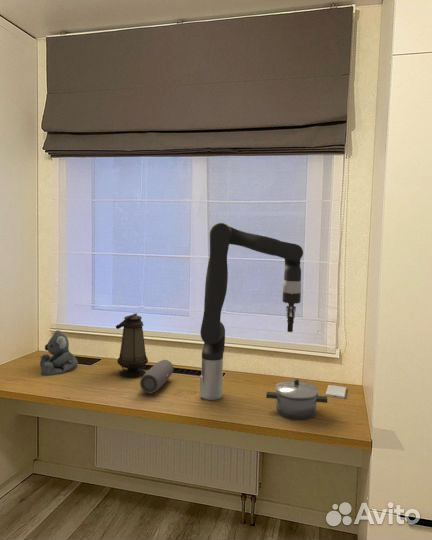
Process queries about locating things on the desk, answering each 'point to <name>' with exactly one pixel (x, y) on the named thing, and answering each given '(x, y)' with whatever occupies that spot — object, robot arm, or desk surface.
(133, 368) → the lantern
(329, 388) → the hard drive
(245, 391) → the desk surface
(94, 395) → the desk surface
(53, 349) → the koala plush
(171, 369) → the bluetooth speaker
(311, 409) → the pot
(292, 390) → the lid
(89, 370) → the desk surface
